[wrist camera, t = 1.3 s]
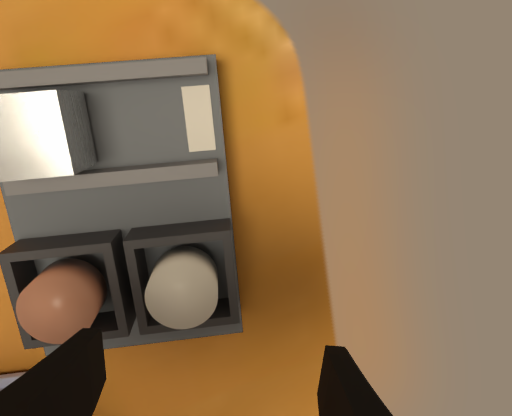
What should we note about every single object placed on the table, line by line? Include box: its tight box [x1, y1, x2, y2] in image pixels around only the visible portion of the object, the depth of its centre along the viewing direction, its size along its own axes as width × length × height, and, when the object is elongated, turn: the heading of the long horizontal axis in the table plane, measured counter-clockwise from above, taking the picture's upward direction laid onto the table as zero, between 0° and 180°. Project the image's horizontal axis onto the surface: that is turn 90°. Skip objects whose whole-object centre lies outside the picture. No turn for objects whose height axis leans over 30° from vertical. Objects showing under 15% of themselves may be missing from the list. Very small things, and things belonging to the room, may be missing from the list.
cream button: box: [145, 246, 218, 329], centre depth 17 cm, size 3×3×2 cm
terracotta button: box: [16, 258, 107, 344], centre depth 16 cm, size 3×3×2 cm
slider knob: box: [0, 90, 97, 182], centre depth 15 cm, size 3×3×3 cm
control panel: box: [0, 54, 243, 356], centre depth 18 cm, size 10×14×4 cm
